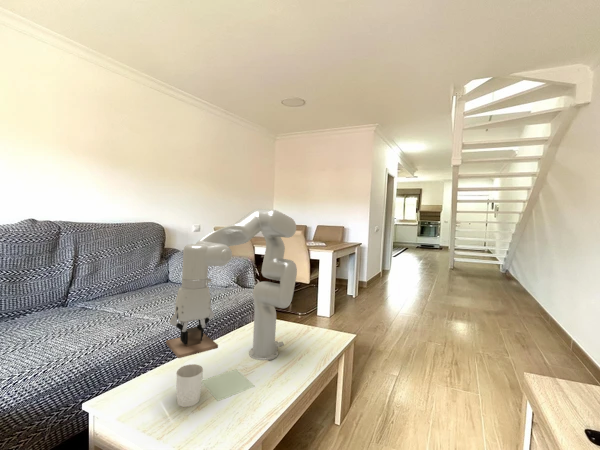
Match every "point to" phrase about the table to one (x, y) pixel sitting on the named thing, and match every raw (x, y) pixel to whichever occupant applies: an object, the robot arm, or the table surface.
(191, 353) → the lid
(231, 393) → the mat
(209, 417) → the table surface
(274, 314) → the robot arm
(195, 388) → the white cup
